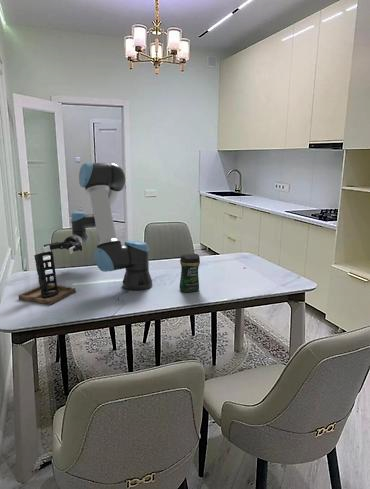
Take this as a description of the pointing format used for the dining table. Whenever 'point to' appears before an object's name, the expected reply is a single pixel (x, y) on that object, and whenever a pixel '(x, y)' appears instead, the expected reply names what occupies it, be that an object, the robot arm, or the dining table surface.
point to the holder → (43, 276)
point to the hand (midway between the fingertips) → (56, 251)
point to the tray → (36, 296)
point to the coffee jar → (189, 272)
